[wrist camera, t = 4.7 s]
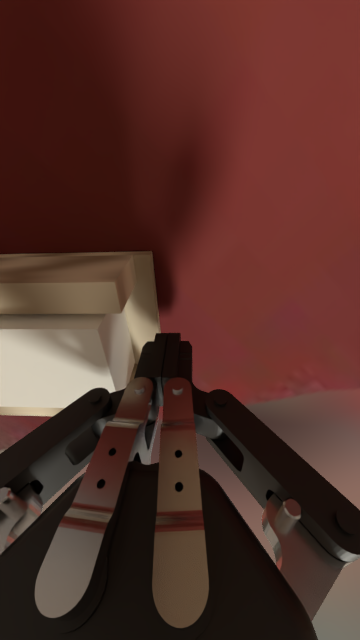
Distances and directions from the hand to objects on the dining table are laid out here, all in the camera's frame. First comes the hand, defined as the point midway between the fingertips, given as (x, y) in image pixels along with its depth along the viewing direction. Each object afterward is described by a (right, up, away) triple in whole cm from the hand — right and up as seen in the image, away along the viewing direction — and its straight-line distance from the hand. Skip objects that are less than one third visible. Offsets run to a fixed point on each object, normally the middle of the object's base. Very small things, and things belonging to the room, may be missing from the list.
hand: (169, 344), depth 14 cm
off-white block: (-7, +1, +1) cm, 7 cm away
